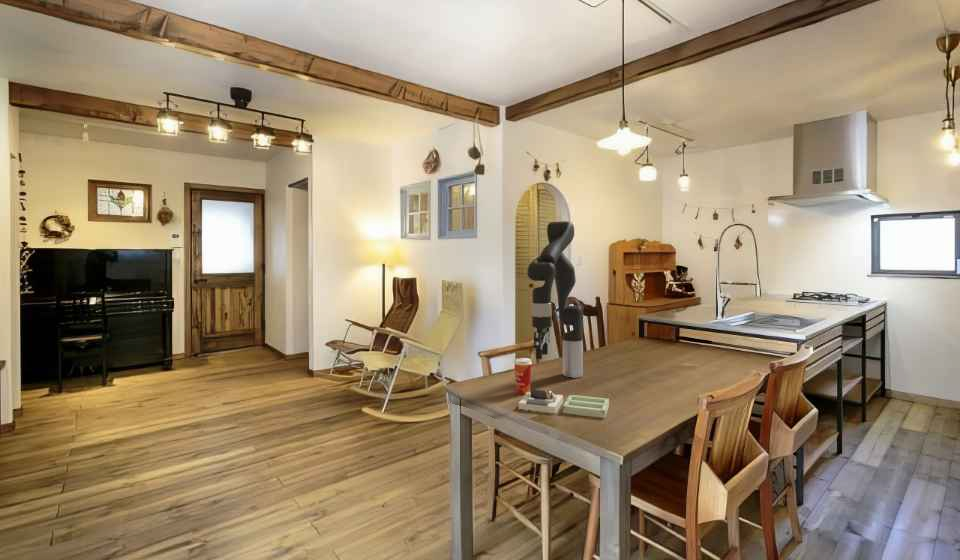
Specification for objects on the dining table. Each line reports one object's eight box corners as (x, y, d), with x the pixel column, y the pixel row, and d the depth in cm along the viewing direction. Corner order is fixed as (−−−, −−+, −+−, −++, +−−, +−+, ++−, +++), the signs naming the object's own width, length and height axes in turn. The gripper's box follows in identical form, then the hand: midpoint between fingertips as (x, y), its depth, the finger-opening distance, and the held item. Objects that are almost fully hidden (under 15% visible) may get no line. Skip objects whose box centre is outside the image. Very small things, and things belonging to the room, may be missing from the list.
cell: (532, 398, 178) (532, 389, 179) (553, 400, 175) (554, 391, 176) (530, 397, 175) (530, 388, 176) (552, 399, 172) (552, 390, 173)
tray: (569, 401, 179) (569, 394, 179) (609, 405, 173) (609, 398, 173) (562, 413, 166) (562, 406, 166) (604, 418, 161) (604, 410, 161)
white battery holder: (528, 397, 184) (528, 387, 184) (563, 401, 179) (562, 390, 179) (518, 409, 171) (518, 398, 171) (555, 413, 166) (555, 402, 166)
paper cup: (511, 391, 194) (510, 358, 193) (527, 388, 196) (526, 356, 195) (519, 396, 186) (518, 362, 185) (535, 394, 189) (535, 360, 188)
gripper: (537, 312, 182) (537, 352, 182) (526, 316, 168) (527, 359, 169) (555, 312, 179) (556, 353, 179) (546, 317, 166) (546, 361, 166)
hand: (541, 356), depth 174 cm, fingers open, 8 cm apart
